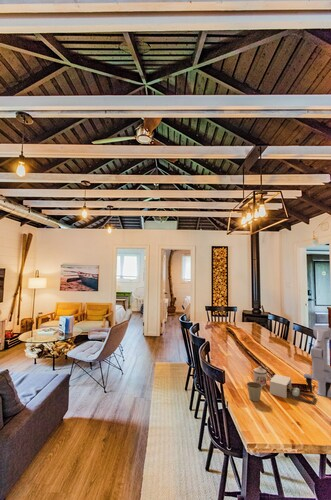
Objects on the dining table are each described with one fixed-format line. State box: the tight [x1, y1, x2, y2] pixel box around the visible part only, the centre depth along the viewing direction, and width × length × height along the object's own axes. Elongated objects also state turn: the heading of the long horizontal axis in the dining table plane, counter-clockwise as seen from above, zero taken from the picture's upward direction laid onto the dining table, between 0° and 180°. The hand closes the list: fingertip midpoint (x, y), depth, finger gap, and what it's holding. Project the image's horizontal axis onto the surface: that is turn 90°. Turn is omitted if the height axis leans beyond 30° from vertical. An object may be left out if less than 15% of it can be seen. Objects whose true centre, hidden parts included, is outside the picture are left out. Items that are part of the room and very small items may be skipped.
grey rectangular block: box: [269, 373, 292, 399], centre depth 174 cm, size 15×10×8 cm
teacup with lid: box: [252, 365, 272, 387], centre depth 186 cm, size 12×9×12 cm
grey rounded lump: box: [292, 389, 298, 397], centre depth 167 cm, size 4×4×4 cm
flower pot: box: [246, 381, 263, 402], centre depth 164 cm, size 9×9×9 cm
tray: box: [287, 388, 316, 405], centre depth 166 cm, size 10×14×2 cm
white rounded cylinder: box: [292, 387, 301, 397], centre depth 170 cm, size 4×4×4 cm
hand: (318, 393), depth 150 cm, fingers open, 7 cm apart
